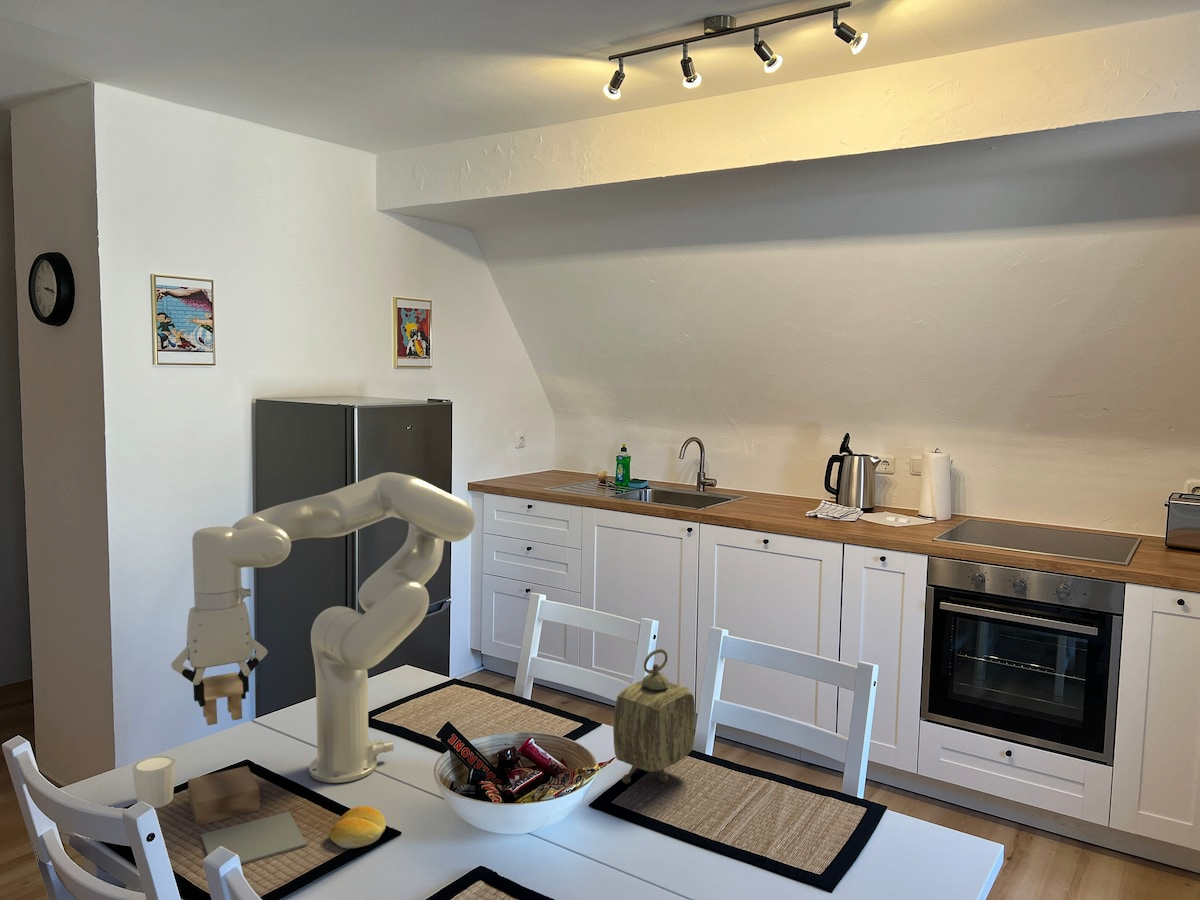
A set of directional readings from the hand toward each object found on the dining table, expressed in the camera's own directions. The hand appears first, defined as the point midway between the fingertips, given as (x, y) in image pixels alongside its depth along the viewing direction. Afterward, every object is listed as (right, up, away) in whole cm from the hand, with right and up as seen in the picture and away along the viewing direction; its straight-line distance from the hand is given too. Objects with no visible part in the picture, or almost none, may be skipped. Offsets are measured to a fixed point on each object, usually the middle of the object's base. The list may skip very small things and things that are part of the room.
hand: (221, 699), depth 151 cm
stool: (0, -3, 0) cm, 3 cm away
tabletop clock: (+76, -19, +14) cm, 80 cm away
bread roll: (+26, -21, -7) cm, 34 cm away
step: (-1, -19, +2) cm, 19 cm away
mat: (+9, -20, -9) cm, 24 cm away
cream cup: (-13, -19, +3) cm, 24 cm away
